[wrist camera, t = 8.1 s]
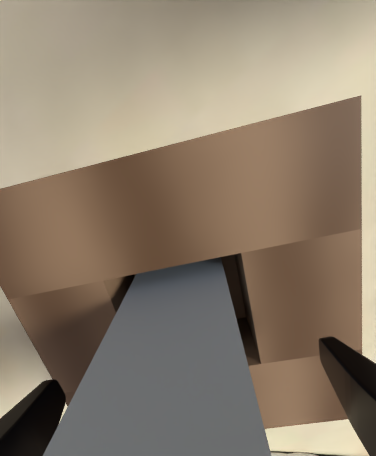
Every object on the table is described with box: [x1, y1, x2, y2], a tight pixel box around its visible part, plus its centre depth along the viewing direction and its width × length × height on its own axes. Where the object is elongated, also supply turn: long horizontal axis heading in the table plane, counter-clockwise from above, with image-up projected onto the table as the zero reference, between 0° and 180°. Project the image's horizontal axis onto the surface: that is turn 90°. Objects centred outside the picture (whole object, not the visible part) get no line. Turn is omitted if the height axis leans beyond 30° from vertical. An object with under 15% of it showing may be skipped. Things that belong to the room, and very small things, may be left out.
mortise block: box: [0, 96, 362, 429], centre depth 11 cm, size 14×14×4 cm
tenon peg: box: [43, 257, 271, 456], centre depth 8 cm, size 4×4×9 cm
